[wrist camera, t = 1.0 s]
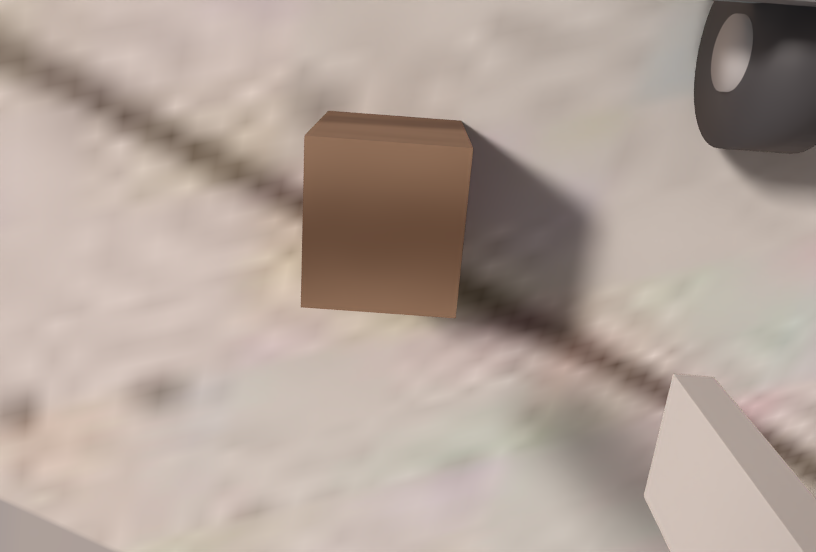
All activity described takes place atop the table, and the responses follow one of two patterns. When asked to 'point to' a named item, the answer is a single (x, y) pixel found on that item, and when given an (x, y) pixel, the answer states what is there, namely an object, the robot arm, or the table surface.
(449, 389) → the table surface
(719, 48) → the grey bracket
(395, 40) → the table surface
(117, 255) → the table surface
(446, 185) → the block
